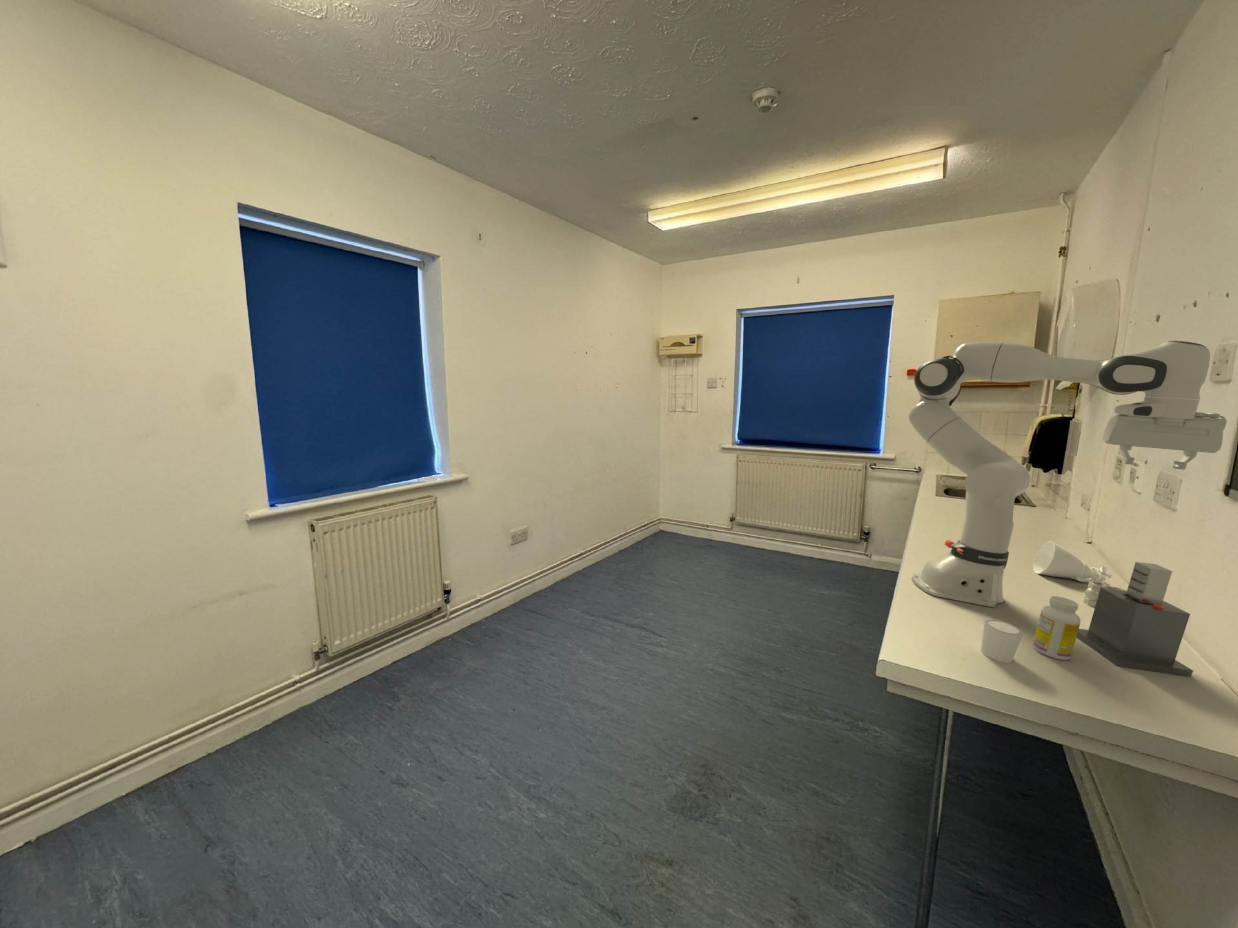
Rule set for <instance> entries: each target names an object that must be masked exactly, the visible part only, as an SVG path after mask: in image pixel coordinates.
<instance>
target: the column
mask: <svg viewBox="0 0 1238 928" xmlns="http://www.w3.org/2000/svg"><path fill="white" fill-rule="evenodd" d="M1172 573H1173V571H1172V570H1171V569H1169V568H1166V567H1163V566H1161V565H1159V564H1156V563H1148V562H1142V561H1141V562H1140V561H1135V563H1134V565H1133V570H1132V573H1131V576H1130V580H1129V582H1128V586H1127V589H1126V591H1127V592H1126V596H1127V597H1129V598H1131V599H1132V600H1134V601H1136V602H1138V603H1140V604H1147V605H1153V604H1154V603H1156V604H1160V605H1162V602H1163V601H1164V599H1165V596H1166V592H1167V589H1168V586H1169V583H1170V580H1171V576H1172Z"/></svg>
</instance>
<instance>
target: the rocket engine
mask: <svg viewBox="0 0 1238 928" xmlns="http://www.w3.org/2000/svg"><path fill="white" fill-rule="evenodd" d="M1032 569H1033V572H1034V573H1035V574H1038V575H1043V576H1048V577H1057V578H1066V579H1067V578H1068V579H1073V580H1074V581H1077V582H1081V583H1089V582H1090V581H1095V582H1100V583H1103V584H1105V585H1107V586H1108V587H1107V588H1108V589H1109V588H1110V587H1111V584H1110V583H1109V582H1106V578H1108V579H1110V578H1112V576H1113V575H1112V574H1111V572H1107V567H1106V566H1103V565H1102V566H1100V567H1099V568H1097V567H1093V566H1091V567H1090V566H1089V565H1087V563H1086V562H1085V561H1084V560H1081V559H1080V558H1079V557H1078V556H1076V555H1074V554H1073V553H1072V552H1071V551H1069V550H1068V549H1066V548H1064V547H1063V546H1061V545H1059V544H1057V543H1056V542H1053V541H1051V540H1050V541H1046V542H1045V543H1043V544H1042V545H1041V546H1040V548H1039V549H1038V550H1037V552H1036V555H1035V556H1034V559H1033V563H1032Z"/></svg>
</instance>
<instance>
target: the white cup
mask: <svg viewBox="0 0 1238 928" xmlns="http://www.w3.org/2000/svg"><path fill="white" fill-rule="evenodd" d="M982 627H983V628H982V636H981V647H980V652H981V653H982V654H983V655H984V656H986V657H987V658H989V659H991V660H993V661H996V662H999V663H1004V664H1005V663H1006V664H1009V663H1012V662H1013V660H1014V657H1015V654H1016V652H1017V650H1018V647H1019V645H1020V642H1021V640H1022V638H1023V635H1024V632H1023V630H1022V629H1021V628H1018V627H1017V626H1016V625H1013V624H1011V623H1009V622H1005V621H1002V620H998V619H993V618H992V619H991V618H988V619H985V620H984V621H983V626H982Z"/></svg>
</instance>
